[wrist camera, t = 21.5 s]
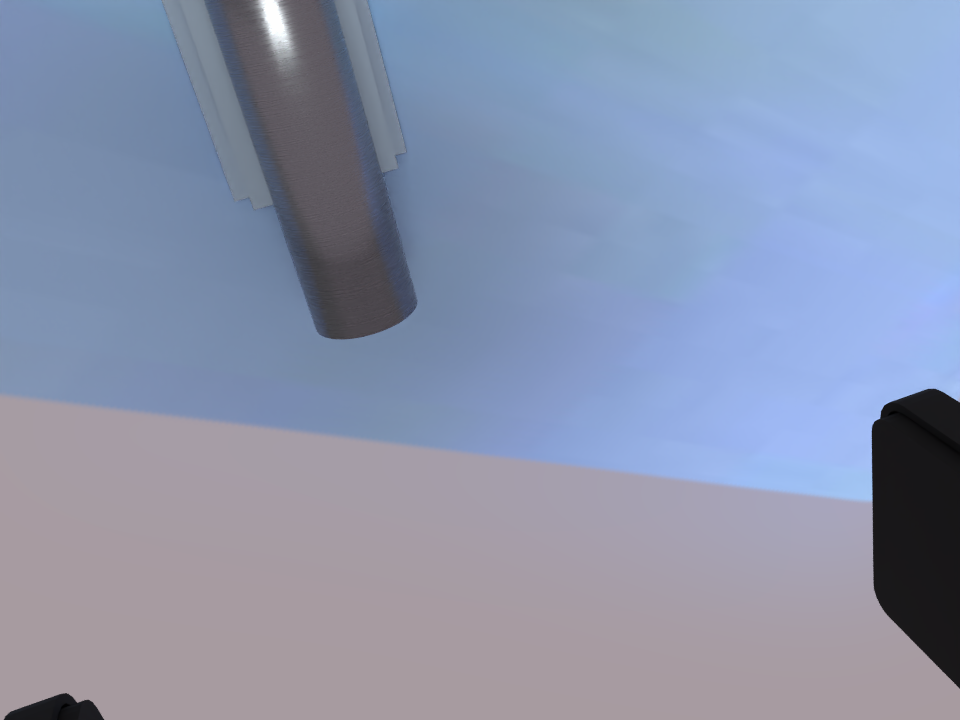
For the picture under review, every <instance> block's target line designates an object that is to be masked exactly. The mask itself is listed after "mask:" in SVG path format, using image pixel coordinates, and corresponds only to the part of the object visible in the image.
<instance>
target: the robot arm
mask: <svg viewBox="0 0 960 720" xmlns="http://www.w3.org/2000/svg"><path fill="white" fill-rule="evenodd" d="M872 490H873V567H874V568H873V569H874V570H873V571H874V590H875V593H876V597H877V599H878V601H879V603H880V605H881V607H882V608H883V610H884V611H885V613H886V614H887V615H888V616H889V617H890V618H891V619H892V620H893V621H894V622H895V623H896V624H897V625H898V626H899V627H900V628H901V629H902V630H903V631H904V632H905V634H907V636H909V638H910V639H911V640H912V641H913V642H914V643H915V644H916V645H917V646H918V647H919V648H920V649H921V650H923V652H924V653H925V654H926V655H927V656H928V657H929V658H930V659H931V660H932V661H933V662H934V663H935V664H936V665H937V666H938V667H939V668H940V669H941V670H942V671H943V672H944V673H945V674H946V675H947V676H948V677H949V678H950V679H951V680H952V681H953V682H954V683H955V684H956V685H957V686H958V687H959V688H960V402H958V401H956V400H955V399H953V398H952V397H950V396H948V395H947V394H945V393H944V392H941V391H939V390H937V389H927V390H924V391H921V392H918V393H915V394H912V395H910V396H907V397H904V398H901V399H898V400H895V401H892V402H890V403H888V404H886V405H884V407H883V409H882V411H881V417H880V419H878V420H877V421H875V422H874V424H873V426H872ZM4 720H104V719H103V717H102V716H101V714H100V712H99V711H98V709H97V707H96V706H95V705H94V703H93V702H91V701H90V700H84V701H82V702H79V703H77V702H76V701H75V700H74V698H73V697H72V696H70V695H69V694H67V693H65V694H59V695H57V696H54V697H51V698H48V699H45V700H42V701H40V702H37V703H34V704H31V705H29V706H25V707H23V708H20V709H17V710H14V711H11V712H10V713H9V714H8V715H7V716H5V719H4Z"/></svg>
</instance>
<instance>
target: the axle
mask: <svg viewBox="0 0 960 720" xmlns="http://www.w3.org/2000/svg"><path fill="white" fill-rule="evenodd" d="M204 3H205V6H206V9H207V12H208V15H209V17H210V20H211V23H212V26H213V29H214V32H215V35H216V38H217V41H218V44H219V47H220V50H221V53H222V55H223V58H224V61H225V64H226V67H227V70H228V73H229V76H230V79H231V82H232V85H233V88H234V91H235V93H236V96H237V99H238V102H239V105H240V108H241V111H242V114H243V117H244V120H245V123H246V126H247V129H248V131H249V134H250V137H251V140H252V143H253V146H254V149H255V152H256V155H257V158H258V161H259V164H260V167H261V169H262V172H263V175H264V178H265V181H266V184H267V187H268V190H269V193H270V196H271V199H272V202H273V205H274V207H275V210H276V213H277V216H278V219H279V222H280V225H281V228H282V231H283V234H284V237H285V240H286V243H287V245H288V248H289V251H290V254H291V257H292V260H293V263H294V266H295V269H296V272H297V275H298V278H299V281H300V283H301V286H302V289H303V292H304V295H305V298H306V301H307V304H308V307H309V310H310V313H311V316H312V319H313V321H314V324H315V327H316V330H317V332H318V333H319V334H320V335H322V336H324V337H326V338H331V339H352V338H359V337H364V336H368V335H371V334H375V333H378V332H381V331H383V330H386V329H388V328H390V327H392V326H394V325H396V324H398V323H400V322H401V321H403V320H404V319H406V318H407V317H408V316H409V315H410V314H411V313H412V312H413V311H414V310H415V308H416V306H417V298H416V294H415V291H414V287H413V283H412V280H411V276H410V272H409V269H408V265H407V262H406V258H405V254H404V251H403V247H402V244H401V240H400V236H399V233H398V229H397V226H396V222H395V218H394V215H393V211H392V208H391V204H390V200H389V197H388V193H387V189H386V186H385V182H384V179H383V175H382V171H381V168H380V164H379V161H378V157H377V153H376V150H375V146H374V143H373V139H372V135H371V132H370V128H369V125H368V121H367V117H366V114H365V110H364V107H363V103H362V99H361V96H360V92H359V88H358V85H357V81H356V78H355V74H354V70H353V67H352V63H351V60H350V56H349V52H348V49H347V45H346V42H345V38H344V34H343V31H342V27H341V24H340V20H339V16H338V13H337V9H336V5H335V2H334V0H204Z"/></svg>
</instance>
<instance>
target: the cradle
mask: <svg viewBox="0 0 960 720" xmlns="http://www.w3.org/2000/svg"><path fill="white" fill-rule="evenodd" d="M334 2H335V5H336V9H337V13H338V16H339V20H340V24H341V27H342V31H343V34H344V38H345V42H346V45H347V49H348V52H349V56H350V60H351V63H352V67H353V70H354V74H355V78H356V81H357V85H358V88H359V92H360V96H361V99H362V103H363V107H364V110H365V114H366V117H367V121H368V125H369V128H370V132H371V135H372V139H373V143H374V146H375V150H376V153H377V157H378V161H379V164H380V168H381V171H382V173H384V172H388V171H391V170H394V169H398V164H397V160H396V157H395V155H399V154H402V153H406V152H407V151H406V148H405V144H404V140H403V136H402V132H401V128H400V125H399V121H398V117H397V113H396V109H395V105H394V102H393V98H392V94H391V90H390V86H389V82H388V79H387V75H386V71H385V67H384V63H383V59H382V56H381V52H380V48H379V44H378V40H377V36H376V33H375V29H374V25H373V21H372V17H371V13H370V10H369V6H368V2H367V0H334ZM162 3H163V6H164V8H165V11H166V14H167V17H168V19H169V22H170V25H171V28H172V30H173V33H174V36H175V39H176V41H177V44H178V47H179V50H180V52H181V55H182V58H183V61H184V63H185V66H186V69H187V72H188V74H189V77H190V80H191V83H192V85H193V88H194V91H195V94H196V96H197V99H198V102H199V105H200V108H201V110H202V113H203V116H204V119H205V121H206V124H207V127H208V130H209V132H210V135H211V138H212V141H213V143H214V146H215V149H216V152H217V154H218V157H219V160H220V163H221V165H222V168H223V171H224V174H225V176H226V179H227V182H228V185H229V187H230V190H231V193H232V196H233V198H234V201H235V202H236V201H239V200H243V199H246V198H250V201H251V203H252V206H253V209H254V210H257V209H260V208H263V207H267V206H270V205H273V202H272V199H271V196H270V193H269V190H268V187H267V184H266V181H265V178H264V175H263V172H262V169H261V167H260V164H259V161H258V158H257V155H256V152H255V149H254V146H253V143H252V140H251V137H250V134H249V131H248V129H247V126H246V123H245V120H244V117H243V114H242V111H241V108H240V105H239V102H238V99H237V96H236V93H235V91H234V88H233V85H232V82H231V79H230V76H229V73H228V70H227V67H226V64H225V61H224V58H223V55H222V53H221V50H220V47H219V44H218V41H217V38H216V35H215V32H214V29H213V26H212V23H211V20H210V17H209V15H208V12H207V9H206V6H205V3H204V0H162Z"/></svg>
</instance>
